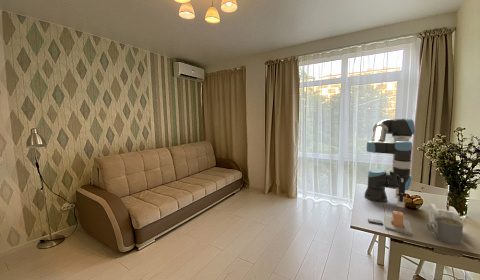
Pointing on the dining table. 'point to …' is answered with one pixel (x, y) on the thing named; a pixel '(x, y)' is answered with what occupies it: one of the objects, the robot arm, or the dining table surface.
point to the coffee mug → (447, 229)
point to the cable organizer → (442, 213)
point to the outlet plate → (403, 230)
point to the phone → (375, 221)
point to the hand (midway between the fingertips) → (399, 202)
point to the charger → (398, 219)
